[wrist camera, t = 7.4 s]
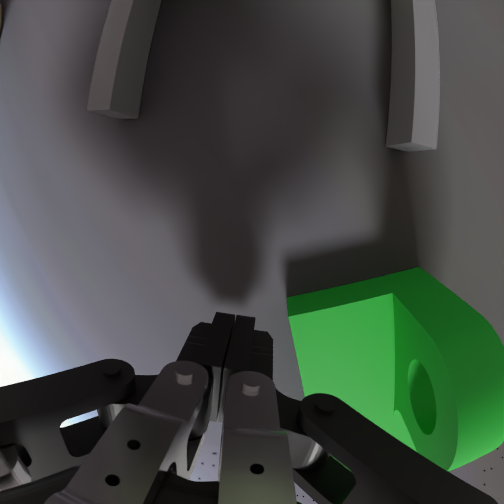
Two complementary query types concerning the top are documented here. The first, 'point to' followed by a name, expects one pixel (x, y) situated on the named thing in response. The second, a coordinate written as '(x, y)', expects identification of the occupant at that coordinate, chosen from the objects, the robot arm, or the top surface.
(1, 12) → the jug
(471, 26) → the top surface
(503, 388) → the mechanical part
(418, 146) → the low bench
